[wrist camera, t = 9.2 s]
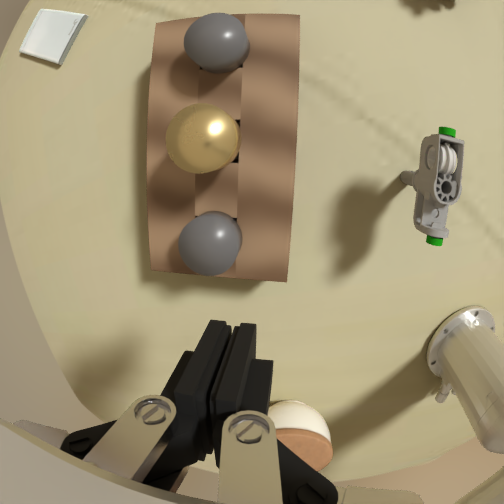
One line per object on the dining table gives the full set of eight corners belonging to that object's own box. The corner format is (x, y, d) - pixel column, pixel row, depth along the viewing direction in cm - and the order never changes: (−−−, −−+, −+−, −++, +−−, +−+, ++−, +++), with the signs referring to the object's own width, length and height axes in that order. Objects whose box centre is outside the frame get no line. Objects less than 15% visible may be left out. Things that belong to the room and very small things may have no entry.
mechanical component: (389, 219, 32) (424, 245, 22) (398, 130, 29) (438, 124, 19) (411, 222, 32) (451, 248, 22) (420, 135, 28) (466, 132, 19)
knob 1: (254, 84, 28) (243, 63, 20) (205, 85, 28) (181, 67, 21) (256, 41, 26) (246, 11, 19) (208, 43, 27) (186, 16, 19)
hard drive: (84, 13, 26) (40, 8, 25) (57, 64, 28) (17, 51, 28) (90, 17, 27) (46, 10, 27) (64, 66, 30) (23, 53, 29)
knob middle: (248, 168, 28) (233, 174, 21) (195, 167, 29) (165, 173, 21) (250, 115, 27) (236, 102, 19) (197, 116, 27) (166, 105, 20)
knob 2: (248, 250, 34) (236, 278, 26) (202, 246, 34) (179, 273, 27) (249, 203, 32) (238, 219, 24) (202, 201, 32) (177, 216, 25)
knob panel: (287, 261, 35) (286, 282, 29) (171, 252, 36) (151, 270, 30) (298, 36, 26) (299, 15, 21) (176, 40, 28) (156, 23, 22)
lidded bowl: (234, 405, 43) (221, 460, 33) (303, 375, 40) (304, 435, 30) (278, 443, 46) (274, 493, 35) (342, 419, 42) (348, 472, 32)
